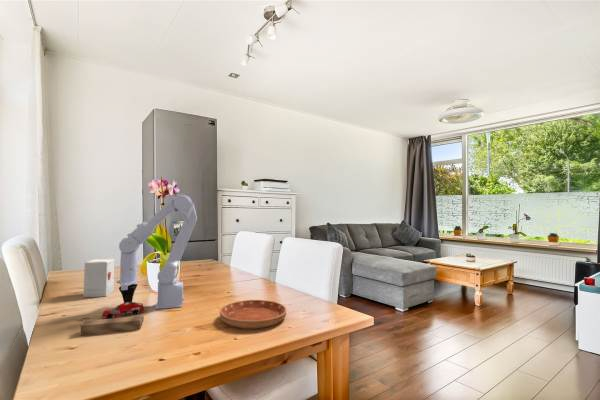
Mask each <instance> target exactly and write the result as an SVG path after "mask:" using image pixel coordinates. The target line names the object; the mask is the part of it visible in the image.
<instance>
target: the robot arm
mask: <svg viewBox="0 0 600 400" xmlns="http://www.w3.org/2000/svg"><path fill="white" fill-rule="evenodd" d="M177 212H179V213H180V215H181V217H182V219H183V222H182V225H181V227H180V229H179V230H178V231H179V232H178V233H177V236H176V239H175V240H174V243H173V245H172V248H171V250H170V252H169V255H168V257H167V259H166V261H165V262H164V266H163V267H162V268H161V269H160V270H159V271H158V273H157V279H158V282H157V303H156V304H155V307H154V308H155V310H158V309H159V310H160V309H161V310H162V309H170V308H171V309H173V308H182V307H183V302H184V299H185V298H184V297H185V296H184V282H183V281H179V280H178V279H177V278H176V276H178V273H179V269H178V267H179V265H180V262H181V259H182V257H183V254H184V251H185V249H186V247H187V245H188V242H189V240H190V237H191V235H192V232H193V230H194V229H195V228H194V227H195V226H196V224H197V221H198V217H197V212H196V207H195V203H194V201H193V200H192V199H191V198H190V197H189V196H188V195H185V194H178V195H176V196H175V197H174V198H173V199H171V200H170V201H168V203H165V204H164V206H163V207H162V208H160V210H159V211H157V213H156V214H155V215H154V216H152V217H151V218H150V219H149V221H143V222H141V223H137V225H136V228H135V229H134V230H133V231H131V232H129V233H128V234H126V236H127V237H124V238H122V239H121V241H120V242H119V243H118V248H119V251H120V262H119V263H120V265H119V267H120V268H119V269H120V270H119V280H116V284H119V285H120V286H119V288H118V290H119V292H120V294H121V296H122V299H123V303H127V302H133V299H134V296H135V292H136V288H137V287H138V281H139V280H138V259H139V257H138V249H139V248H140V245H142V244H143V243H144V242H146V240H148V238H150V237H151V236H152V235H153V234H154V233H155V228H156V227H157V226H158V225H159V224H160V223H161V222H162V221H163V220H165V219H166V218H167V217H168V216H169V215H170V214H174V213H177Z"/></svg>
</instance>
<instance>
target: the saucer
mask: <svg viewBox="0 0 600 400" xmlns="http://www.w3.org/2000/svg"><path fill="white" fill-rule="evenodd" d="M219 314H220V315H219V317H220V319H221V321H223V322H224V323H226V324H227V325H229V326H231V327H235V328H240V329H246V328H248V329H253V328H255V329H263V328H267V327H271V325H272V326H273V325H276V324H278V323H279V322H280V321H281V322H282V321H283V320H284V319H285V318H286V316H287V308H286V307H285V305H283V304H281V303H279V302H276V301H272V300H265V299H249V300H247V299H245V300H239V301H234V302H230V303H228V304H226V305H224V306H223V307H221V309H220V310H219ZM248 329H247V330H248ZM253 330H254V329H253Z"/></svg>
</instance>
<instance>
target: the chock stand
mask: <svg viewBox="0 0 600 400" xmlns="http://www.w3.org/2000/svg"><path fill="white" fill-rule="evenodd" d="M144 319H145V318H144V315H143V316H142V315H139V316H129V317H128V316H124V317H113V318H109V319H108V318H104V319H93V320H85V321H84V322H82V324H81V325H80V333H79V335H80V337H81V336H84V337H85V336H93V335H101V334H112V333H113V334H114V333H121V332H130V331H131V332H132V331H139V330H141V329H142V326H143V323H144Z"/></svg>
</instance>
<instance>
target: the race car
mask: <svg viewBox="0 0 600 400" xmlns="http://www.w3.org/2000/svg"><path fill="white" fill-rule="evenodd" d="M144 311H145V306H144V304H143V303H140V302H135V301H132V302H127V303H124V302H123V303H121V304H118V305H116V306H113V307H110V308H107V309H105V310H103V311H102V313H101V317H102V318H104V319H114V318H121V317H127V316H132V315H133V316H134V315H138V314H141V313H143V312H144Z"/></svg>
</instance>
